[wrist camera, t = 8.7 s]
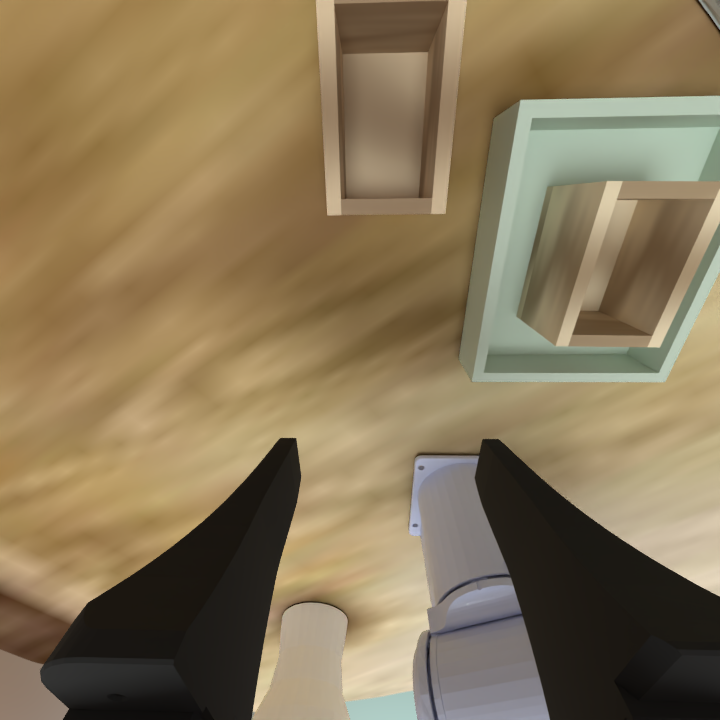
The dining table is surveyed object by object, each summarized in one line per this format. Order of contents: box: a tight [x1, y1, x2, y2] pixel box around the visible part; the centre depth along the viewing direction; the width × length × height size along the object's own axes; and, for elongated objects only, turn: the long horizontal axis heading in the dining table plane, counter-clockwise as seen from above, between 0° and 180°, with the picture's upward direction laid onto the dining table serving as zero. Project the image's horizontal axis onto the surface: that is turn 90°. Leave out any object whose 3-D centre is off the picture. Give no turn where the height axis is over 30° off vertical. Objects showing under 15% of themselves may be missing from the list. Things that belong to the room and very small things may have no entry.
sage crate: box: [459, 96, 720, 382], centre depth 17 cm, size 13×11×3 cm
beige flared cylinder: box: [252, 603, 350, 720], centre depth 30 cm, size 11×11×15 cm
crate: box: [316, 0, 467, 215], centre depth 14 cm, size 7×5×4 cm
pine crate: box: [516, 181, 720, 348], centre depth 16 cm, size 7×5×4 cm
